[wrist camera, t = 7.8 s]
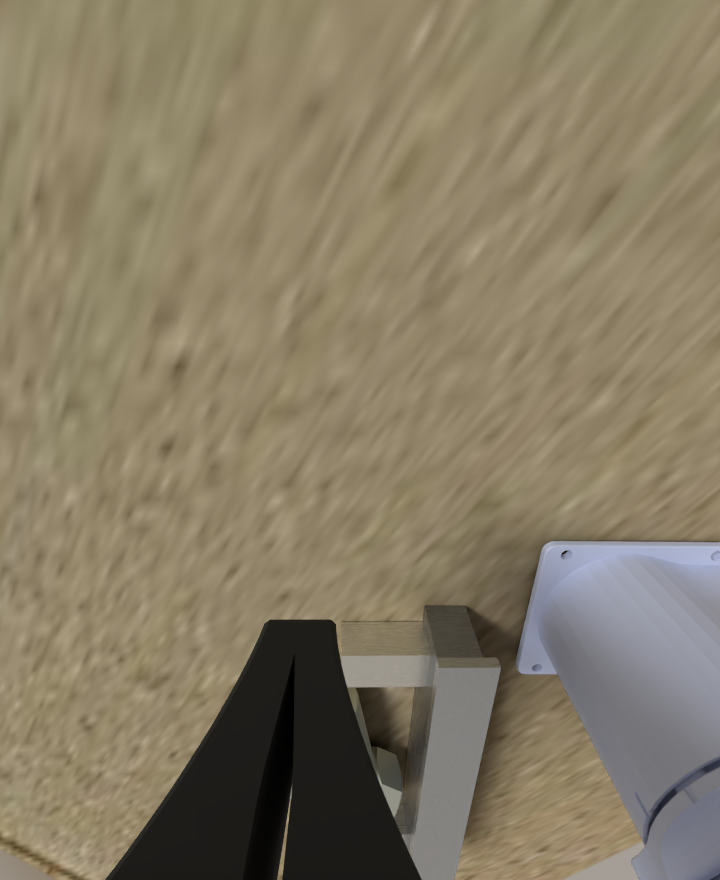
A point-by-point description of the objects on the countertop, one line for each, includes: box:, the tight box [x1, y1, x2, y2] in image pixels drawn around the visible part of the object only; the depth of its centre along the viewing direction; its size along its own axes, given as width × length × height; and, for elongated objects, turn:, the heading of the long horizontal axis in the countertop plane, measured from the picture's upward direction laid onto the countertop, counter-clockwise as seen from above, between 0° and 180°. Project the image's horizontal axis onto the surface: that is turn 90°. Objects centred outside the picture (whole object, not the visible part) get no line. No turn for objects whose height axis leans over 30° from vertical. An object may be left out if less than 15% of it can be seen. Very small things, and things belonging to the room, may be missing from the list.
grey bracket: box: [341, 606, 501, 880], centre depth 23 cm, size 7×18×4 cm, turn 178°
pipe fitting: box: [290, 687, 402, 817], centre depth 23 cm, size 8×4×7 cm
